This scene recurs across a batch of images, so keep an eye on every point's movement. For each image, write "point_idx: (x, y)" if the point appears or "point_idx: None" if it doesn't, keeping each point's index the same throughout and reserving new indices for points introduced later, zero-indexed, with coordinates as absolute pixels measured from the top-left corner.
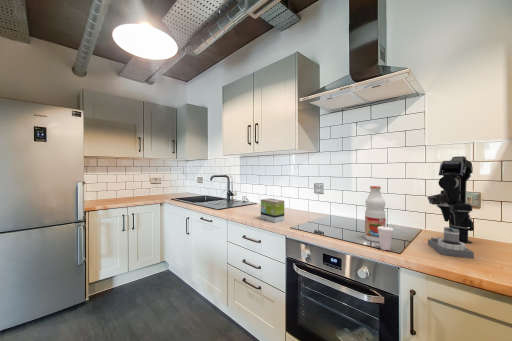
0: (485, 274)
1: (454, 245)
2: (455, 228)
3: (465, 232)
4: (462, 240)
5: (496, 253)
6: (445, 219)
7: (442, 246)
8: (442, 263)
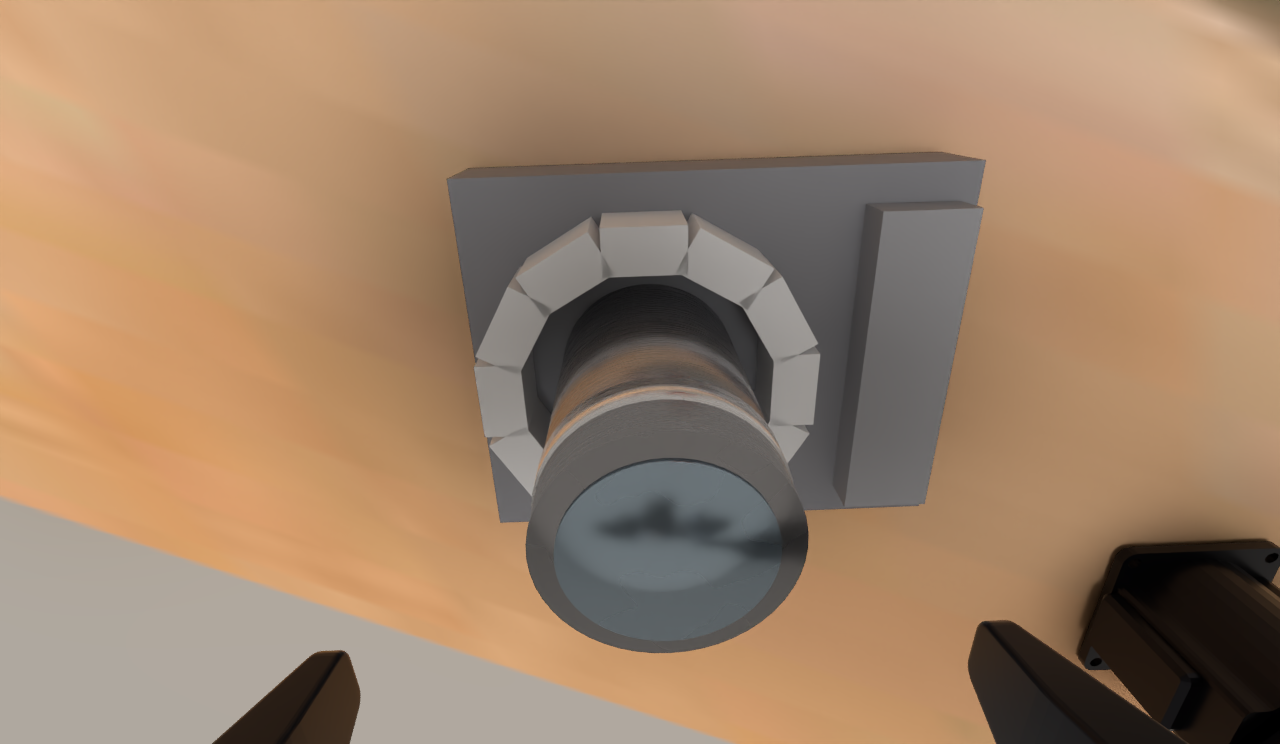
0: (5, 382)
1: (478, 377)
2: (693, 626)
3: (1194, 729)
4: (1105, 610)
5: (777, 704)
6: (1017, 679)
7: (562, 236)
8: (50, 37)
